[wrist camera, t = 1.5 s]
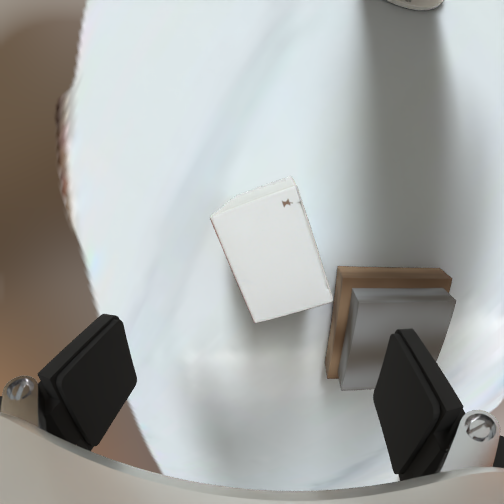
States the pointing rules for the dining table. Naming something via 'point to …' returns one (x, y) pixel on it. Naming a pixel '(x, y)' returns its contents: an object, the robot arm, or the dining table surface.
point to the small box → (272, 251)
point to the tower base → (369, 281)
